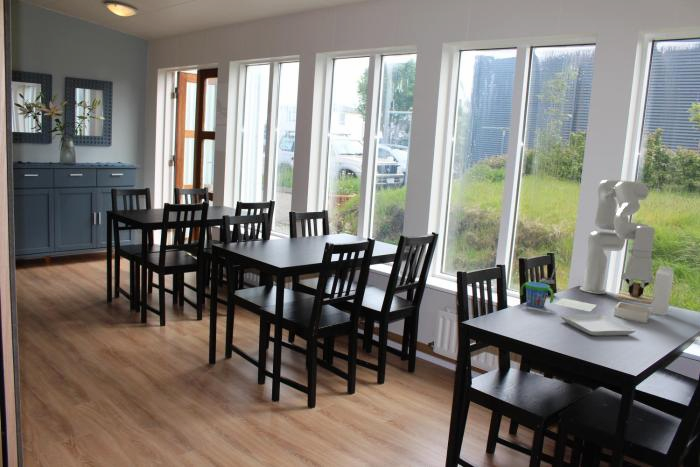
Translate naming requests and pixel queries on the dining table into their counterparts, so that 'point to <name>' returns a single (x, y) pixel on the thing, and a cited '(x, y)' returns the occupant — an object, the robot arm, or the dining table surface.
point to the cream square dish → (632, 312)
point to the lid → (635, 295)
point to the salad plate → (597, 324)
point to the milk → (662, 290)
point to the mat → (575, 304)
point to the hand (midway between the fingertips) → (635, 294)
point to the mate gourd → (549, 282)
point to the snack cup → (536, 293)
